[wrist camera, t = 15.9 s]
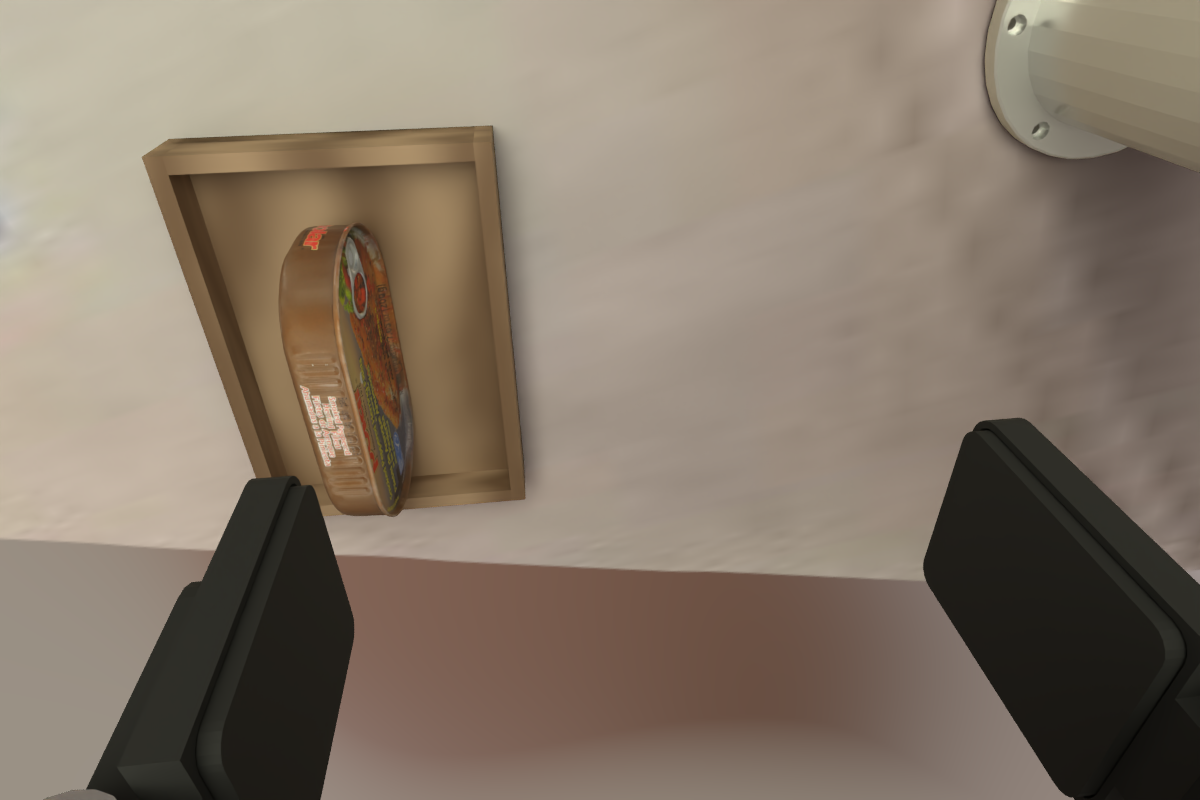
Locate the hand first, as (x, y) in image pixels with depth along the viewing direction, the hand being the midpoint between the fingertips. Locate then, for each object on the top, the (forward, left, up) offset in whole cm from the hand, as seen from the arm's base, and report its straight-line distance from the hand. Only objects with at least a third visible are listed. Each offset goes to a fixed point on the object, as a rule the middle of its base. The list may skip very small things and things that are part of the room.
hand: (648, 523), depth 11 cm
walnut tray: (+10, +11, -28) cm, 32 cm away
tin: (+10, +11, -28) cm, 31 cm away
